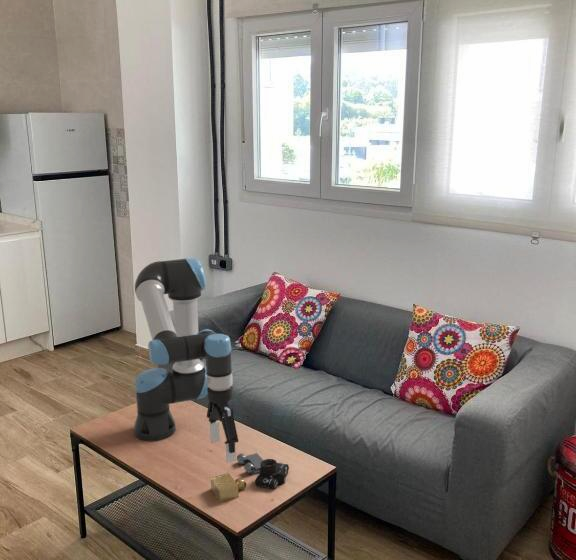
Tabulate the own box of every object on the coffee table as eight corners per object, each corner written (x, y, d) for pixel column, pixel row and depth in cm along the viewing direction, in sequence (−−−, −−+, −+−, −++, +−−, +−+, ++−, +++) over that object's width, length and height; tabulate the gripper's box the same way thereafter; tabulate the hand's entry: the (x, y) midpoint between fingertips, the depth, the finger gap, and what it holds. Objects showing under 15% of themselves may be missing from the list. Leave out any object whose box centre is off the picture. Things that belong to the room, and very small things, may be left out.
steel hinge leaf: (257, 457, 219) (256, 449, 219) (268, 469, 211) (268, 461, 211) (236, 462, 216) (236, 454, 216) (247, 475, 208) (247, 467, 208)
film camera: (269, 449, 214) (292, 450, 208) (275, 470, 215) (298, 472, 209) (244, 469, 203) (268, 471, 197) (250, 491, 204) (274, 493, 198)
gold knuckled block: (240, 480, 206) (239, 469, 204) (250, 493, 199) (249, 481, 198) (211, 489, 201) (210, 477, 200) (220, 502, 194) (219, 490, 193)
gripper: (194, 374, 200) (198, 436, 205) (223, 404, 178) (226, 473, 183) (217, 370, 203) (220, 431, 208) (247, 399, 181) (250, 466, 186)
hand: (223, 451), depth 195 cm, fingers open, 13 cm apart
